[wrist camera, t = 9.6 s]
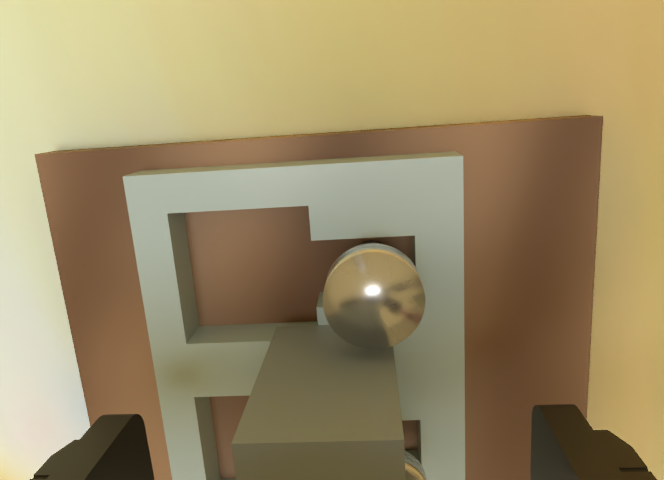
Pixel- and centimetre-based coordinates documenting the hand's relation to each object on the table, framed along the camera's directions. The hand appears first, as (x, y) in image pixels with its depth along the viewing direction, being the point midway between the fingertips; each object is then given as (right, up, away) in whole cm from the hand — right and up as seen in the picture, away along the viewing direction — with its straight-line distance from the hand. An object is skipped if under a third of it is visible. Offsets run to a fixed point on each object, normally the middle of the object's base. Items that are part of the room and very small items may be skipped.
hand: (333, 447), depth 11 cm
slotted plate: (-1, +1, +5) cm, 5 cm away
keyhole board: (0, +1, +6) cm, 6 cm away
